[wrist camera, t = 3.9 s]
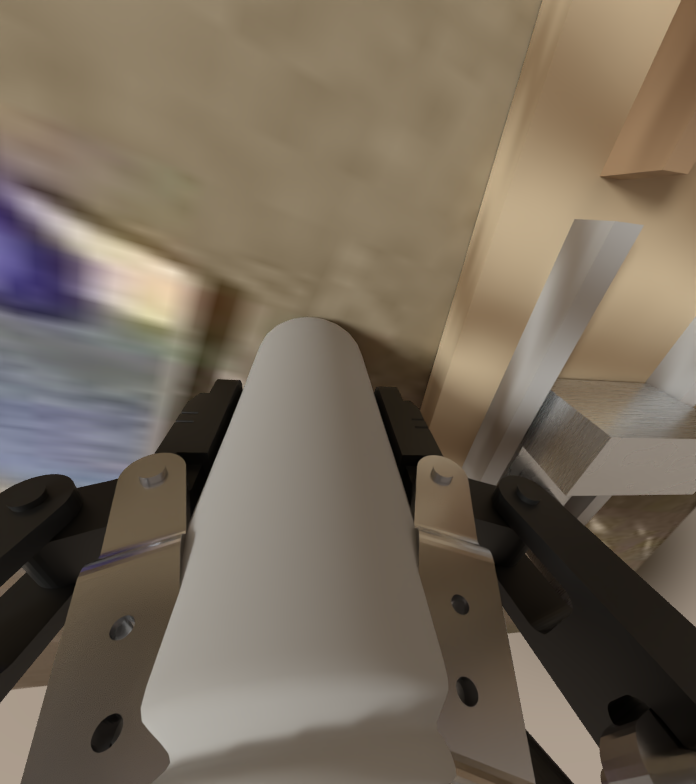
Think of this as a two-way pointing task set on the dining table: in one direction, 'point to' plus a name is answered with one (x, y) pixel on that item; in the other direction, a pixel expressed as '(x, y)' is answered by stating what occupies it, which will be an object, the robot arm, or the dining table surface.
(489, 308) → the wooden tray
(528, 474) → the press block
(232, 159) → the dining table surface
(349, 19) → the dining table surface
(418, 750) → the beverage can
